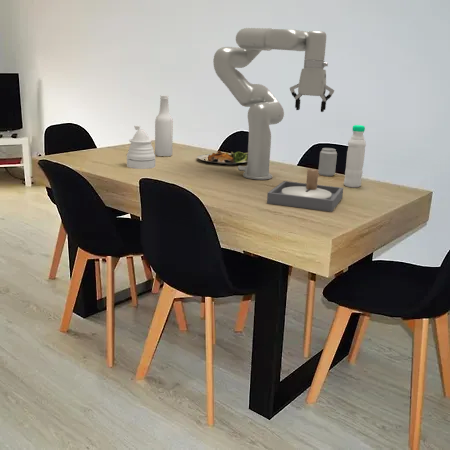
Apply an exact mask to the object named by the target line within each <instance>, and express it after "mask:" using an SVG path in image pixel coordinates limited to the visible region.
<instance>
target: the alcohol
mask: <svg viewBox="0 0 450 450" xmlns="http://www.w3.org/2000/svg"><path fill="white" fill-rule="evenodd" d="M158 111H159V112H158V115H156V117H155V121H154V132H155V133H154V154H155V156H156V155H157V156H156V157H159V156H170V157H172V156H173V142H174V141H173V138H174V137H173V135H174V133H173V131H174V129H173V128H174V127H173V126H174V121H173V118H172V115H171V114H170V109H169V95H168V94H161V95H160V101H159V110H158ZM171 155H172V156H171Z"/></svg>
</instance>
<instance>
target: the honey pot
mask: <svg viewBox="0 0 450 450" xmlns="http://www.w3.org/2000/svg"><path fill="white" fill-rule="evenodd" d="M134 130H136V132H135V134H134V135H133V137H132V138H130V139H129V140H128V141H129V143H130V145H129V147H128V151H127V154H126V166H127V168H130V169H137V170H139V169H140V170H142V169H143V170H145V169H147V170H148V169H152V168H156V155H155V149H154V147H153V144H152V141H153V140H152V139H150V137H149V135H148V133H147V132H146V131H145V130H144V129H141V125H134Z"/></svg>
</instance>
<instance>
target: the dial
mask: <svg viewBox="0 0 450 450" xmlns="http://www.w3.org/2000/svg"><path fill="white" fill-rule="evenodd" d="M318 171H319V169H315V168H307V173H306V182H305V183H306V187H305V186H293V187H286V188H283V189H282V194H288V195H296V196H304V197H312V198H320V199H328V200H330V199H331V195H332V193H331V192H329V191H327V190H324V189H320V188H317V185H318V178H319V173H318Z"/></svg>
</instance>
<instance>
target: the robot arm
mask: <svg viewBox="0 0 450 450" xmlns="http://www.w3.org/2000/svg"><path fill="white" fill-rule="evenodd" d="M235 42H236V44H237V46H238V47H235V46H234V47H233V46H223V47H221V48H219V49H217V50H216V51H215V52H214V55H213V62H212V63H213V70H214V71H215V74H216V76H217V77H218V78H219V80H220V81H221V82H222V83H223V84H224V85H225V87H226V88H227V89H228V90H229V92H230V93H231V95H232V96H233V97H234V98H235V100H236V101H237V102H238V103H239V104H240V105H241V106H242V107H245V108H249V109H248V111H247V123H248V144H247V153H248V154H247V155H248V160H247V162H246V165H244V166H243V165H238V166H237V170H238V171H241V172H243V173H242V176H243V178H246V179H249V180H250V179H251V180H260V181H261V180H262V181H263V180H271V179H272V178H273V174H272V173H270V163H271V162H270V161H271V148H272V147H271V144H272V132H271V128H270V126H271V125H276V124H279V123H281V122H282V121H283V119H284V117H285V116H284V115H285V111H284V107H283V106H282V104H281V103H280V101H279V100H278V99H277V98H276V97H275V95H274V94H273V93H272V92H271V91H270V89H269V88H268V87H266V86H265V85H263V84H260V83H251V82H250V81H248V79H246V77H245V76H244V75H243V73H242V72H240V71H239V70H238V69H242V68H245V67H247V66H248V65H249V64H250V63H252V62H253V60H255V58H256V57H257V56H258V55H259V54H260V53H261V52H262V51H272V50H281V51H292V52H293V51H294V52H295V51H296V52H304V59H303V60H304V62H303V68H301V71H300V76H299V81H298V83H297V84H294V85H293V86H290V87H289V91H290V93H291V95H292V97H293V99H295V103H294V104H295V105H294V108H295V109H296V111H299V110H300V109H301V97H302V96H311V97H312V96H313V97H319V98H321V100H322V101H321V105H320V112H321V113H323V112H325V110H326V107H327V106H326V105H327V101H329V100H330V99H331V98H332V96H333V94H334V93H335V90H334V89H333V88H331V87H330V86H328V85H327V70H326V69H325V68H326V67H329V66H328V65H329V63H328V62H325V56H326V46H327V45H326V44H327V33H326V32H325V31H322V30H309V31H306V30H299V29H289V28H285V29H284V28H283V29H282V28H270V27H269V28H263V27H262V28H260V27H257V28H256V27H246V28H241V29H240V30H239V31H237V33H236V35H235ZM295 89H297V91H298V93H296V91H295ZM326 91H327V92H329V93H328V94H327V95H326Z"/></svg>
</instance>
